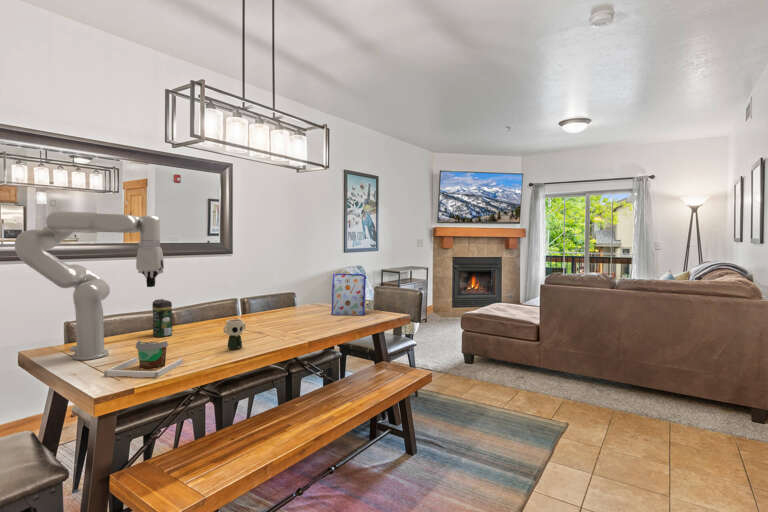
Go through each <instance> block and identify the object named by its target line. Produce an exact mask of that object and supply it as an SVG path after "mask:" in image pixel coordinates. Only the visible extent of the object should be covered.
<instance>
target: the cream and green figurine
mask: <svg viewBox="0 0 768 512" xmlns="http://www.w3.org/2000/svg"><path fill="white" fill-rule="evenodd" d="M225 323H226V325H224V326H223V327H222V328H223V331H222V332H223V334H226V335H228V336H229V337H228V340H227V348H228V349H230V350H237V349H238V348H239V349H241V348H243V343H242V336H241V335H243V332H244V330H246V322H244V321H243V319H242V318H241V319H240V318H232V319H228V320H227V319H226V322H225Z"/></svg>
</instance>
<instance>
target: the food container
mask: <svg viewBox="0 0 768 512" xmlns="http://www.w3.org/2000/svg"><path fill="white" fill-rule="evenodd" d="M167 347H169V343H168V341H167V340H165V341H162V342H161V341H160V342H157V341H148V342H146V341H145V342H143V341H141V339H138V340H137V341H136V344H135V349H136V350H137V355H138V364H139V368H140V369H141V368H143V369H142V370H154V369H153V368H156V369H160V368H164V367H165V366H166V359H167V358H166V356H167ZM159 367H160V368H159Z"/></svg>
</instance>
